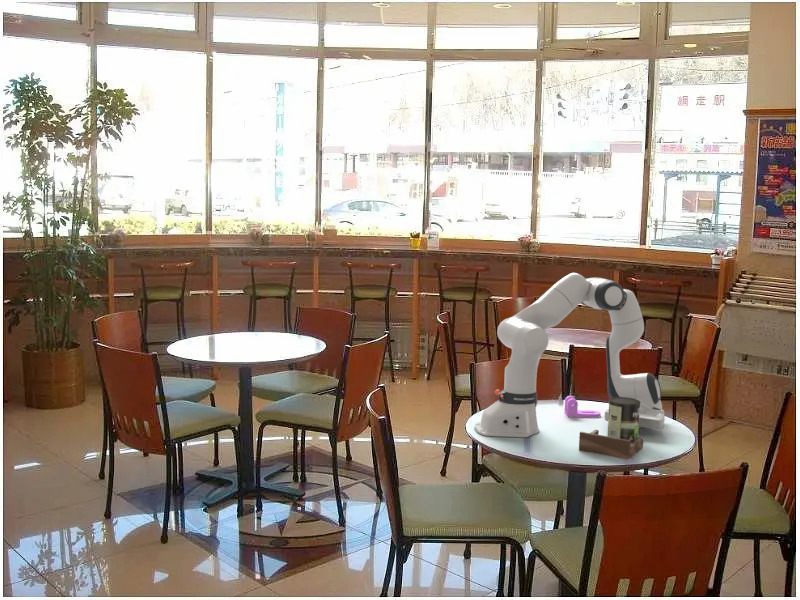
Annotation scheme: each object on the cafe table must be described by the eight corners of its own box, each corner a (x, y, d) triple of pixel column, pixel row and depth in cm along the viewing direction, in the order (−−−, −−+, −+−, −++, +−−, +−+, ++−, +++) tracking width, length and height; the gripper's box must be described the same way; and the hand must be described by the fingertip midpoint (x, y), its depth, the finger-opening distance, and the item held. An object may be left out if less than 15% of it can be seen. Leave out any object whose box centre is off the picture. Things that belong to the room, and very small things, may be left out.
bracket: (567, 417, 311) (568, 399, 310) (564, 413, 317) (565, 395, 316) (601, 418, 311) (602, 399, 310) (598, 414, 317) (599, 396, 316)
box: (594, 439, 283) (595, 422, 282) (642, 448, 274) (643, 430, 273) (578, 450, 270) (579, 432, 270) (628, 459, 261) (629, 441, 261)
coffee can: (641, 439, 283) (643, 399, 282) (634, 447, 274) (636, 405, 273) (611, 435, 288) (613, 395, 287) (603, 442, 279) (605, 401, 278)
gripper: (611, 401, 302) (598, 409, 290) (668, 410, 291) (657, 419, 279) (610, 418, 303) (597, 427, 291) (667, 428, 292) (656, 437, 280)
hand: (627, 423), depth 285 cm, fingers closed
